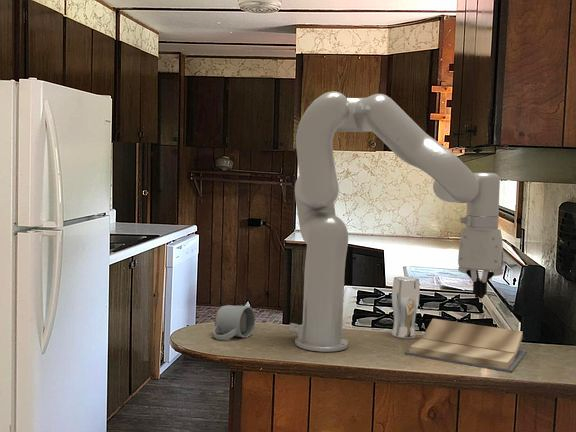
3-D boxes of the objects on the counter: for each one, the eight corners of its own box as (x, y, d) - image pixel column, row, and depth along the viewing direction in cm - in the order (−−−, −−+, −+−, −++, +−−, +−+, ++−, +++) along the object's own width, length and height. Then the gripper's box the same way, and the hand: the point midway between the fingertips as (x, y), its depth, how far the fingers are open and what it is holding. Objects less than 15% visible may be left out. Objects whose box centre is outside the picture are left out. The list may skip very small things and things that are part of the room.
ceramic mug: (228, 329, 169) (228, 300, 169) (255, 334, 165) (256, 304, 165) (204, 338, 160) (205, 307, 159) (232, 343, 156) (233, 312, 155)
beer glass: (419, 339, 166) (422, 281, 166) (392, 338, 167) (394, 280, 166) (414, 333, 173) (417, 277, 172) (388, 332, 174) (391, 276, 173)
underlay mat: (404, 354, 152) (404, 352, 152) (429, 337, 170) (429, 335, 170) (511, 372, 141) (511, 370, 141) (526, 352, 158) (526, 350, 158)
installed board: (409, 352, 152) (409, 346, 152) (421, 344, 160) (421, 338, 160) (507, 369, 142) (507, 362, 142) (514, 359, 149) (515, 353, 149)
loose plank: (422, 343, 161) (422, 338, 160) (432, 323, 168) (432, 318, 167) (515, 358, 150) (515, 352, 150) (522, 336, 158) (522, 331, 157)
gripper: (447, 222, 160) (445, 296, 162) (511, 225, 153) (508, 303, 154) (455, 220, 167) (453, 292, 168) (516, 223, 160) (513, 298, 161)
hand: (479, 297), depth 161 cm, fingers closed
